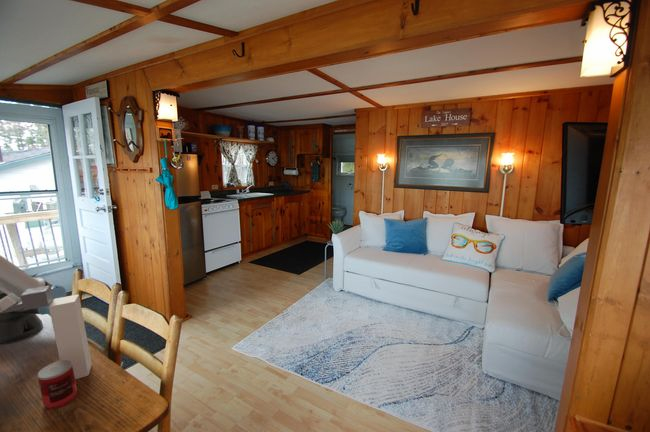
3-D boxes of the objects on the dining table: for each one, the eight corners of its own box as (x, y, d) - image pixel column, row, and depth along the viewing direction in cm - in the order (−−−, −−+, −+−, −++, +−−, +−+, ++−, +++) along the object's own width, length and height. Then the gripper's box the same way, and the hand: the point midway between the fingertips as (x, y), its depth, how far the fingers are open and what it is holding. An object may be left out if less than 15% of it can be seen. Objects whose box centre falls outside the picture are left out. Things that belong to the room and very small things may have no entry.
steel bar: (-16, 312, 86) (-20, 297, 85) (53, 299, 94) (50, 285, 93) (-24, 320, 82) (-29, 304, 81) (48, 305, 89) (45, 291, 88)
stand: (69, 371, 100) (54, 298, 94) (91, 364, 103) (78, 294, 97) (64, 382, 95) (48, 306, 89) (88, 375, 98) (74, 301, 92)
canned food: (60, 389, 92) (54, 359, 90) (84, 389, 92) (78, 360, 90) (36, 409, 85) (29, 377, 82) (62, 410, 84) (55, 378, 82)
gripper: (-50, 347, 87) (33, 296, 95) (-86, 379, 74) (14, 317, 82) (-75, 332, 84) (13, 280, 92) (-117, 363, 71) (-10, 300, 79)
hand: (13, 298), depth 87 cm, fingers closed on steel bar, 2 cm apart
